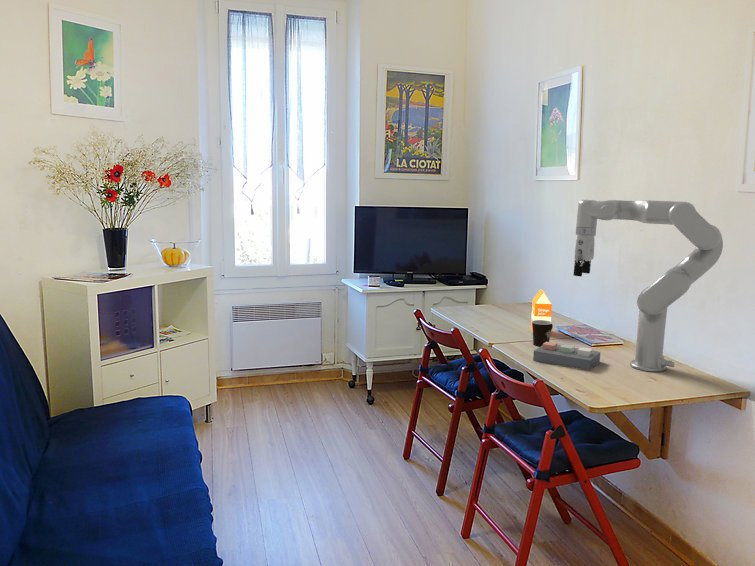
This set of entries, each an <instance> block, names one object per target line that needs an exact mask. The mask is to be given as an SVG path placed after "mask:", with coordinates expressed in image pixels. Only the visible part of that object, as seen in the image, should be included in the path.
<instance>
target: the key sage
mask: <svg viewBox="0 0 755 566" xmlns="http://www.w3.org/2000/svg"><path fill="white" fill-rule="evenodd" d="M575 348H576V346H575V345H571V344H570V345H568V344H562V345H560V352H563V353H569V354H572V353H573V352H574V349H575Z"/></svg>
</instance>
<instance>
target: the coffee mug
mask: <svg viewBox="0 0 755 566" xmlns="http://www.w3.org/2000/svg"><path fill="white" fill-rule="evenodd" d="M553 327H554V325H553V321H551V322H550V321H546V320H534V321H532V331H533V332H532V331H531V332H532V340H533V341H532V342H533V343H532V345H534V346H536V347H541V346H542V345H543V343H545V342H550V339H551V334H552V330H553Z"/></svg>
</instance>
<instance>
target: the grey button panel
mask: <svg viewBox="0 0 755 566" xmlns="http://www.w3.org/2000/svg"><path fill="white" fill-rule="evenodd" d="M560 346H561V345H560V344H559V345H558V344H557V349H556V350H554V351H551V350H545V349H542V348H543V345H542V346H541V347H540V346H538V348H535V350H533V357H532V358H533V360H532V361H535V362H539V363H545V364H551V365H555V366H556V365H557V366H563V367H566V368H573V369H577V370H578V369H579V370H582V371H583V370H584V371H591V370H592V369H594V367H596V366H597V365H598V364H599V363H600V362H601V351H597V350H593V352H592V355H591V356H590V357H587V356H581V355H578V349H580V347H579V348H578V347H575V349H574V352H573V353H572V354H569V353H563V352H560Z"/></svg>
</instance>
